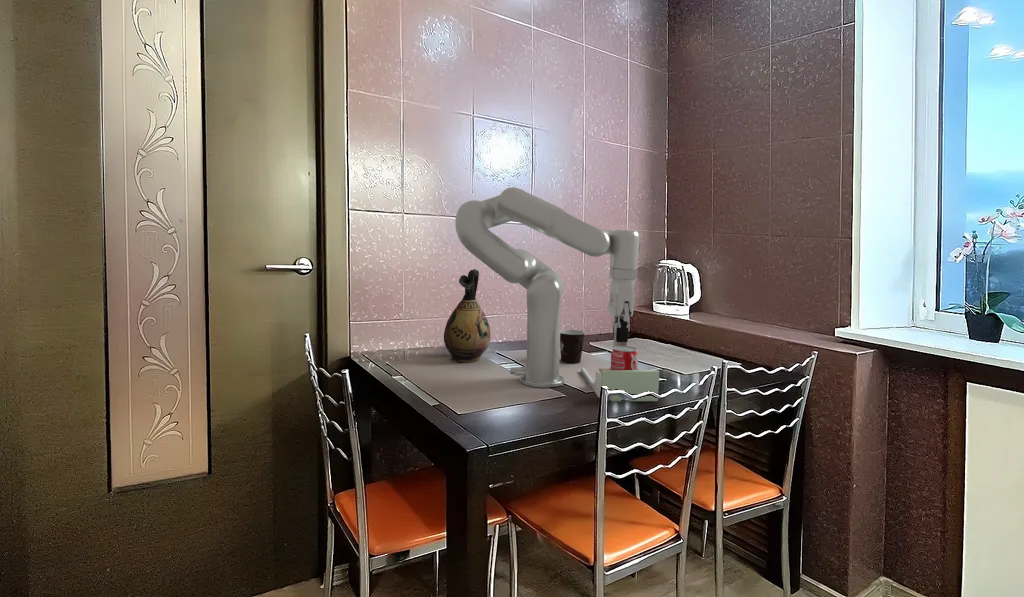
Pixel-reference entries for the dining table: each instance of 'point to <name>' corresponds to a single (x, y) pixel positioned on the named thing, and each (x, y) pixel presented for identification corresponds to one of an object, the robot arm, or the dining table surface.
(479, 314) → the ceramic jug
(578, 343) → the coffee mug
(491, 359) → the dining table surface
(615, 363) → the soda can
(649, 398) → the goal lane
